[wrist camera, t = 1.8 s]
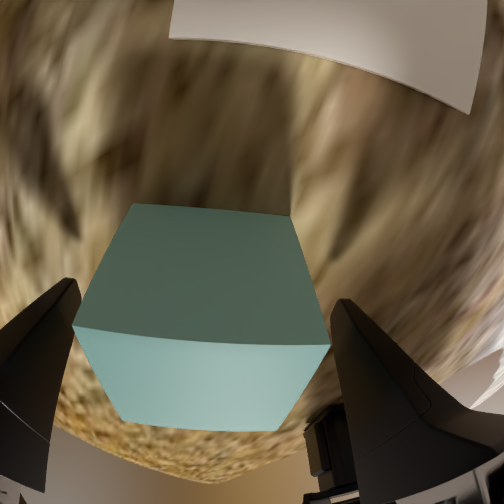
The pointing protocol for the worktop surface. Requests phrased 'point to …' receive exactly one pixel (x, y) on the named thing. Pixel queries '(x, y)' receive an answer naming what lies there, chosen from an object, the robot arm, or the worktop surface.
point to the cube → (203, 319)
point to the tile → (357, 36)
